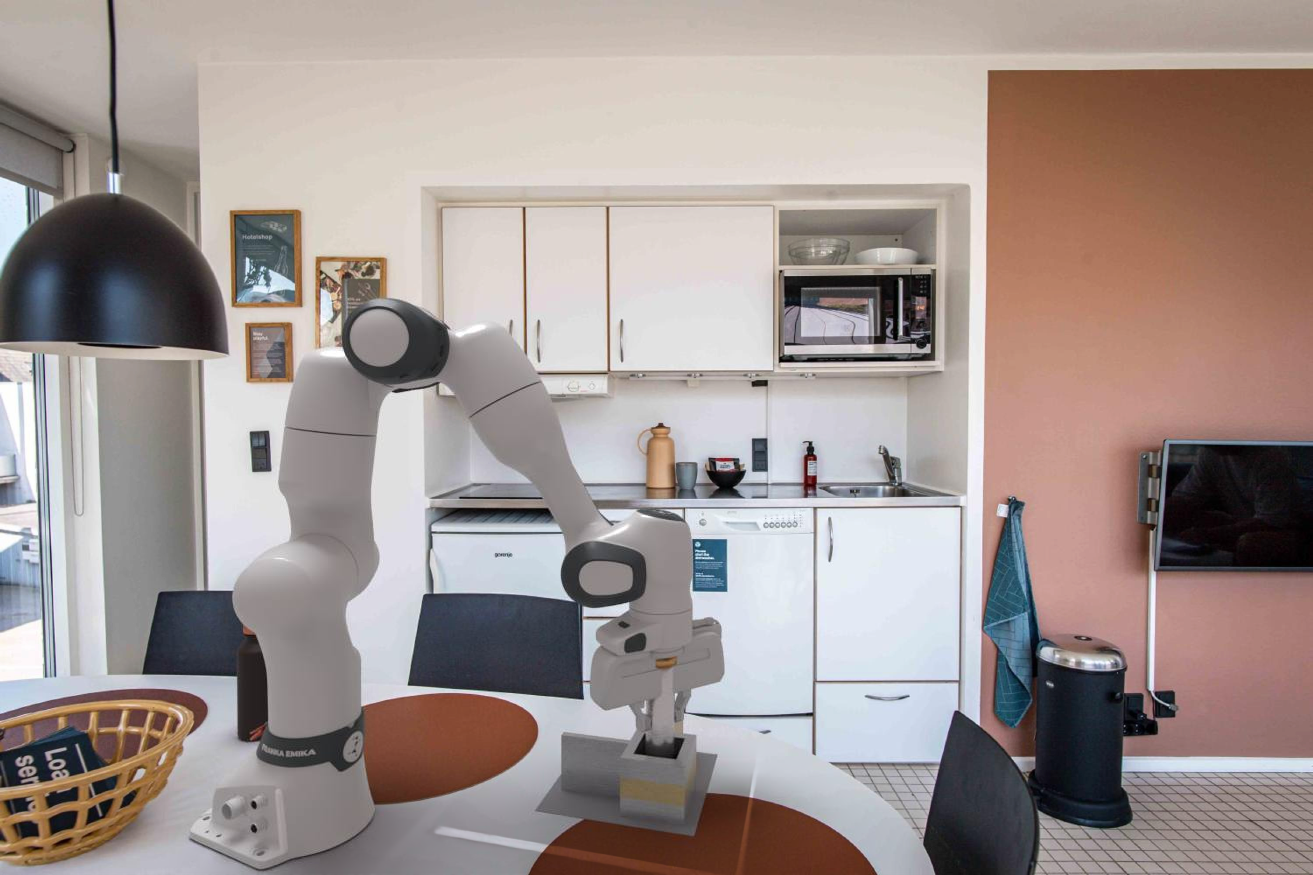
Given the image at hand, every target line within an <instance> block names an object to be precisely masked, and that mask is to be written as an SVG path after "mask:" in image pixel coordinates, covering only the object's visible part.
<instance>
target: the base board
mask: <svg viewBox="0 0 1313 875" xmlns="http://www.w3.org/2000/svg"><path fill="white" fill-rule="evenodd" d="M717 758H718V754H717V753H716V754H715V753H707V752H700V751H696V791H695V794H694V797H693V801H692V804H691V807H690V810H689V813H688V816H687V820H686V823H685V826H677V825H671V824H665V823H658V822H652V821H646V820H639V819H633V818H626V817H620V799H618V798H611V797H604V796H598V795H591V794H584V793H578V792H571V791H564V790H561V774H560V775H559V776H558V778H557V779H556V780H555V782H554V783H553V785H552V786H551V787H550V789H549V790H548V792H546V795H545V796H544V797H543V799H542V800H541V802H539V804H538V806H537V807H536V809H534V811H535V812H539V813H543V814H544V813H545V814H551V815H552V814H553V815H557V816H563V817H564V816H565V817H568V818H569V817H570V818H577V819H582V820H589V821H595V822H601V823H606V824H607V823H608V824H614V825H620V826H626V827H627V826H628V827H632V828H640V829H645V830H646V829H647V830H653V831H657V832H663V833H664V832H665V833H669V834H678V835H683V836H687V837H688V836H689V837H695V834H696V831H697V828H698V825H699V821H700V817H701V813H702V812H703V811H702V809H703V807H704V803H705V801H706V797H707V792H708V790H709V786H710V783H711V782H710V781H711V780H712V779H711V778H712V775H713V771H714V768H715V764H716V762H717Z"/></svg>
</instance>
